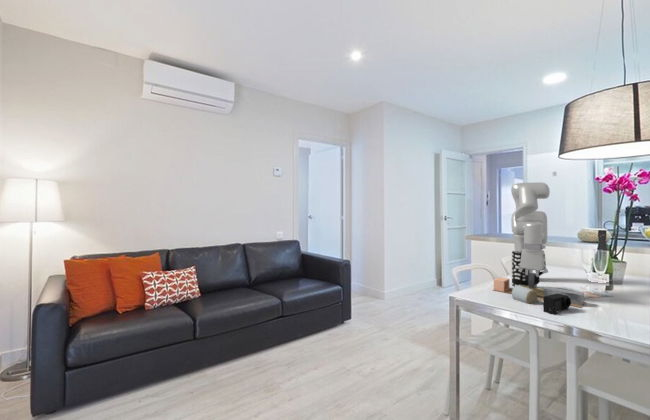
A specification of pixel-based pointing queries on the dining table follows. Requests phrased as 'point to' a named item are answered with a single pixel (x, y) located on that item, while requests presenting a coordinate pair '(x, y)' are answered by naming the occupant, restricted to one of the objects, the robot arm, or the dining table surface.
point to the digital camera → (555, 303)
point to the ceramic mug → (524, 294)
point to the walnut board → (537, 297)
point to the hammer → (533, 284)
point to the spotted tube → (517, 270)
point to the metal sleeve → (575, 297)
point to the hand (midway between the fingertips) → (532, 283)
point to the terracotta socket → (501, 284)
